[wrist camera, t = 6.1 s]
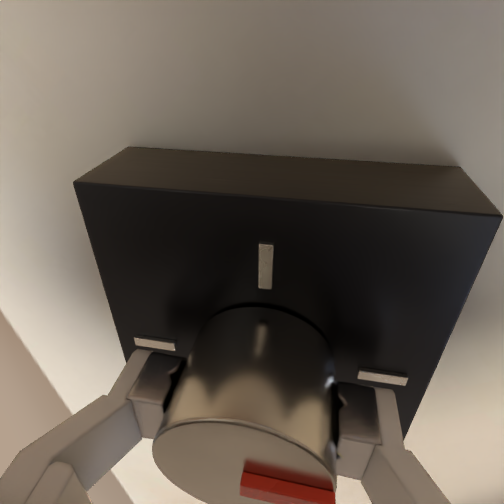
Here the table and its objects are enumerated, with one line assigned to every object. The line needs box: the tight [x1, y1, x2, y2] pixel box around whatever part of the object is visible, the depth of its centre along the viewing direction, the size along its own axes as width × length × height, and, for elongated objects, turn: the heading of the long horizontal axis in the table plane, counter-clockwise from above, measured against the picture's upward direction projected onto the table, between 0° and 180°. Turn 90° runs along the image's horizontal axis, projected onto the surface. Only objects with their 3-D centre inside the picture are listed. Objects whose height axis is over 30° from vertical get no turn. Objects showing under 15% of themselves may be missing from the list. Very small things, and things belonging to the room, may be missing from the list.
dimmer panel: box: [73, 147, 503, 441], centre depth 12 cm, size 11×10×3 cm
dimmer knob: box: [152, 307, 337, 504], centre depth 10 cm, size 4×4×4 cm
